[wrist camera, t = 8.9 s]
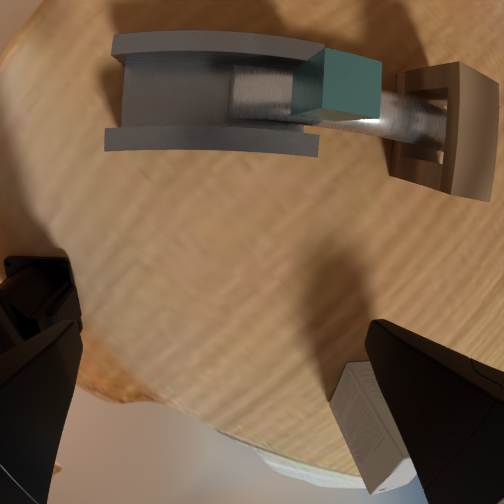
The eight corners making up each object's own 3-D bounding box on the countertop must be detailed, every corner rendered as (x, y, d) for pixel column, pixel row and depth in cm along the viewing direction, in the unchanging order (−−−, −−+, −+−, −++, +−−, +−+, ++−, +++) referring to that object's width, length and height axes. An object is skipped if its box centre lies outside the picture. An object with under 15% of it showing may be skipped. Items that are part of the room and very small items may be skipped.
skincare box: (362, 400, 30) (407, 484, 19) (327, 403, 29) (367, 497, 18) (383, 357, 28) (443, 445, 17) (346, 360, 27) (402, 459, 16)
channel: (126, 147, 18) (104, 151, 14) (132, 54, 16) (113, 34, 12) (294, 152, 20) (317, 157, 16) (301, 61, 18) (324, 44, 13)
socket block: (389, 175, 21) (450, 194, 15) (396, 73, 18) (459, 61, 12) (428, 182, 22) (489, 202, 15) (435, 87, 19) (498, 83, 12)
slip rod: (228, 120, 17) (242, 107, 10) (232, 71, 16) (247, 28, 9) (438, 152, 19) (515, 168, 12) (441, 113, 18) (518, 117, 11)
